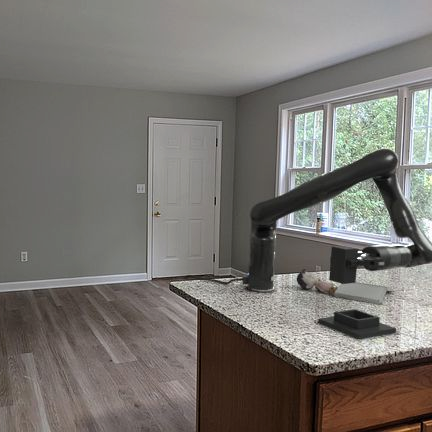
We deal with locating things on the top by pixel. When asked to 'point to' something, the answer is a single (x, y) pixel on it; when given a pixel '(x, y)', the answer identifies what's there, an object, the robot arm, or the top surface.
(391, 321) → the top surface
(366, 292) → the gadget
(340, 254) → the pad block
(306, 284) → the figurine
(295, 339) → the top surface
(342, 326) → the base pad
